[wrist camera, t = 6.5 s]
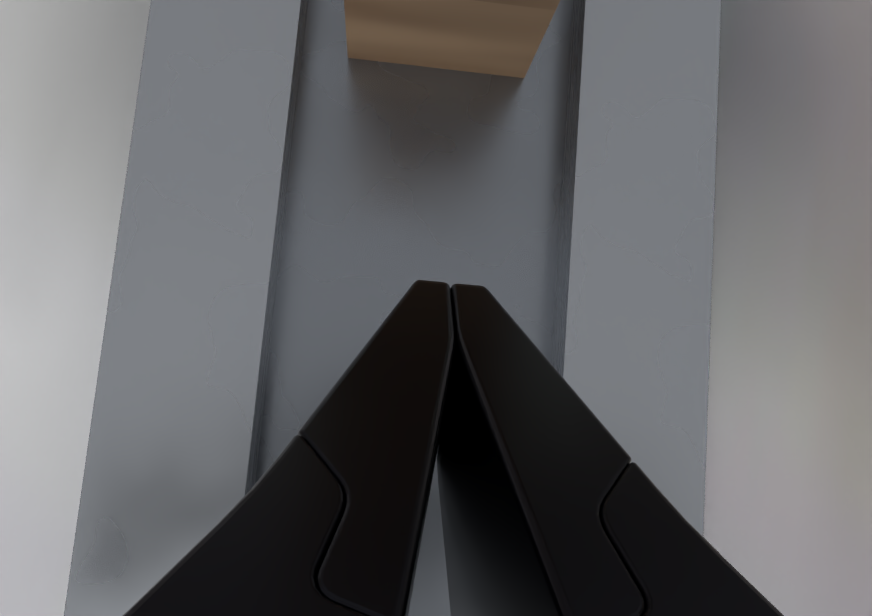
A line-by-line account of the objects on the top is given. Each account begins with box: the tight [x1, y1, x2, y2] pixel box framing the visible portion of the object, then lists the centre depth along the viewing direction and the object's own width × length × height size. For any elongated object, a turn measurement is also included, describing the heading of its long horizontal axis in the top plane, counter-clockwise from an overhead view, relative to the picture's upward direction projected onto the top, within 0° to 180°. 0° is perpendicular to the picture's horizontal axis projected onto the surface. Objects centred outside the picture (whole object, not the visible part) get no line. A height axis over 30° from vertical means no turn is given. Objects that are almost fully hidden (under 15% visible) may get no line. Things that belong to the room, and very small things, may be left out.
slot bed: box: [64, 0, 721, 616], centre depth 17 cm, size 18×12×2 cm, turn 175°
